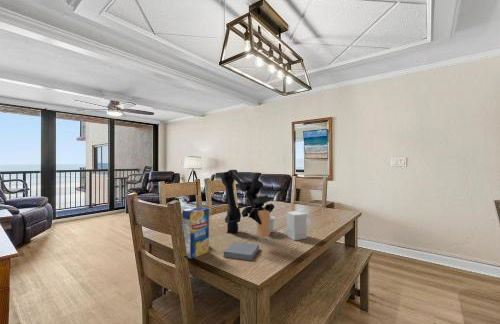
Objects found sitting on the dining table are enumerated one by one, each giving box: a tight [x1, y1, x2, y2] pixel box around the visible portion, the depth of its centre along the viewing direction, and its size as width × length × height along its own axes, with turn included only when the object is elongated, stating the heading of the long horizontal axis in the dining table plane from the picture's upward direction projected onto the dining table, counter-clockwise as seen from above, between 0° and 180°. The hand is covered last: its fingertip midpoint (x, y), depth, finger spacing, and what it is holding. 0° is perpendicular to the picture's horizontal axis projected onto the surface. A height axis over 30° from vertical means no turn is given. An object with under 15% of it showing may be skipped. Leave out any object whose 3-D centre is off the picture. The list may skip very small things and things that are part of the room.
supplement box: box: [286, 210, 308, 241], centre depth 139 cm, size 9×9×15 cm
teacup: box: [269, 215, 276, 235], centre depth 149 cm, size 12×15×10 cm
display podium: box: [223, 241, 260, 261], centre depth 116 cm, size 14×14×2 cm
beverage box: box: [182, 206, 210, 259], centre depth 115 cm, size 7×11×22 cm, turn 138°
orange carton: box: [256, 210, 271, 238], centre depth 121 cm, size 5×5×13 cm
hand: (264, 223), depth 120 cm, fingers closed on orange carton, 5 cm apart
